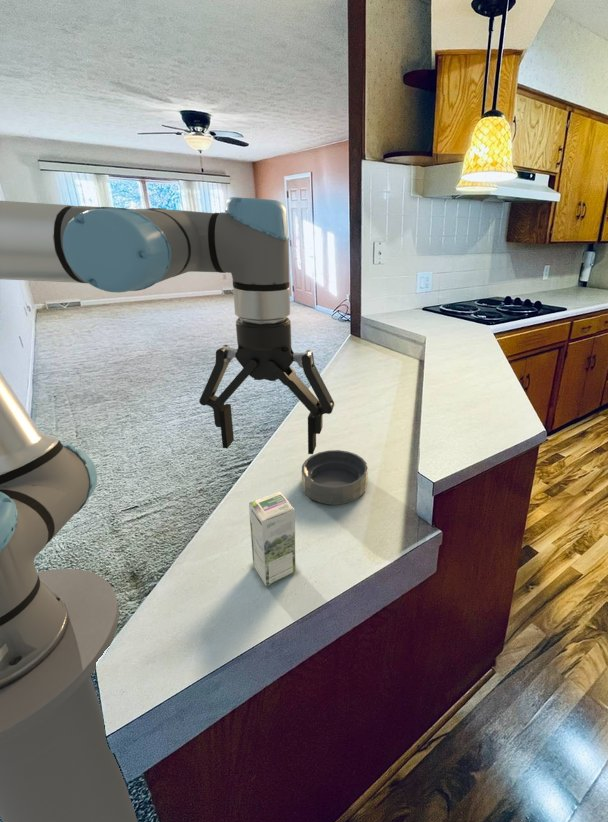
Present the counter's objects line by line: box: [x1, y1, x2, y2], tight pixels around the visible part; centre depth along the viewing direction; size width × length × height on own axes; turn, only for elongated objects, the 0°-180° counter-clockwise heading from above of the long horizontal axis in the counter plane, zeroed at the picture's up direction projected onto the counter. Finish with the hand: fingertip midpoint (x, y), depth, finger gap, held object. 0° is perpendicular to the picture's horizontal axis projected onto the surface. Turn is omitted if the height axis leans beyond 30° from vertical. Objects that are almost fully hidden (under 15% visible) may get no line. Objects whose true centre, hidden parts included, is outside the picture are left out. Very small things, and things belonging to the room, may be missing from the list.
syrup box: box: [248, 491, 296, 587], centre depth 71 cm, size 6×6×14 cm
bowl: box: [301, 449, 369, 505], centre depth 96 cm, size 15×15×5 cm
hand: (270, 447), depth 66 cm, fingers open, 13 cm apart
